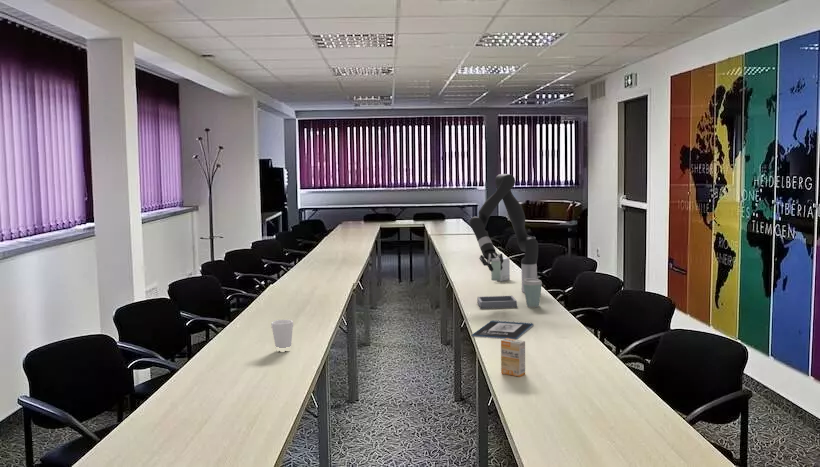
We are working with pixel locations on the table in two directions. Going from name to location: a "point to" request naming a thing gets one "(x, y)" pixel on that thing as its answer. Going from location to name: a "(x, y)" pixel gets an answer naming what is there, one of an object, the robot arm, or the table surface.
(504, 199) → the robot arm
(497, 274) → the shaker
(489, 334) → the sketchbook
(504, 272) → the skincare box
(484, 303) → the tray
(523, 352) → the supplement box
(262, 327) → the table surface
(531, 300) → the disposable coffee cup
